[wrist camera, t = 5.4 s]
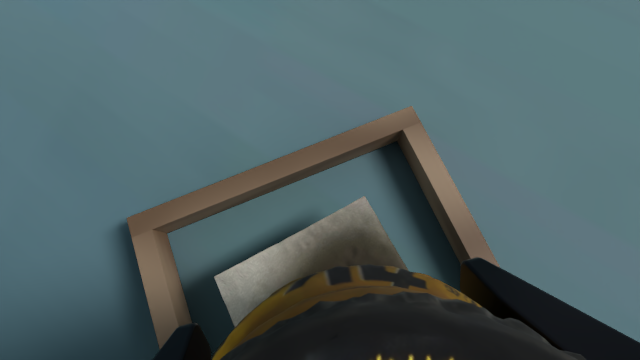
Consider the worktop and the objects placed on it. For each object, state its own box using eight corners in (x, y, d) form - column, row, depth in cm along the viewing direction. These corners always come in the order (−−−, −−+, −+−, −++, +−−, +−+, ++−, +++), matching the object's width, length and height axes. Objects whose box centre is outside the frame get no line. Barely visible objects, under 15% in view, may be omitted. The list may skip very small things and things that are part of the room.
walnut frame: (572, 431, 15) (598, 448, 13) (242, 597, 13) (232, 636, 12) (405, 118, 19) (412, 105, 17) (143, 222, 18) (126, 217, 16)
